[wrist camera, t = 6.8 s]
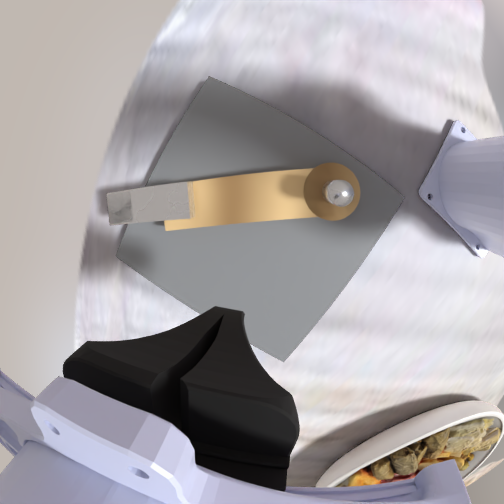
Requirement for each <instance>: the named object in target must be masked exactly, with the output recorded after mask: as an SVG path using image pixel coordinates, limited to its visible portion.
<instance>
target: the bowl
mask: <svg viewBox="0 0 504 504" xmlns="http://www.w3.org/2000/svg"><path fill="white" fill-rule="evenodd" d="M503 434H504V415H503V413H502V412H501V410H500V409H499V408H498V407H496V406H495V405H493V404H491V403H488V402H484V401H463V402H457V403H453V404H449V405H445V406H442V407H439V408H436V409H433V410H430V411H428V412H425V413H422V414H420V415H417V416H415V417H413V418H410V419H408V420H406V421H404V422H401V423H399V424H397V425H395V426H393V427H391V428H389V429H387V430H385V431H383V432H381V433H379V434H378V435H376V436H374V437H372V438H370V439H369V440H367V441H365V442H364V443H362V444H360V445H359V446H357V447H356V448H354V449H352V450H351V451H350V452H348V453H347V454H345V455H344V456H343V457H341V458H340V459H339V460H337V461H336V462H335V463H334V464H333V465H332V466H331V467H330V468H328V470H327V471H326V472H325V473H324V474H323V475H322V476H321V478H320V479H319V481H318V482H317V484H316V486H315V487H319V488H323V487H352V486H365V485H374V484H383V483H390V482H396V481H402V480H407V479H413V478H415V477H416V475H417V474H418V473H419V472H420V471H421V470H423V469H424V468H425V467H427V466H429V465H432V464H436V463H440V462H444V461H447V460H451V459H455V461H456V464H457V466H458V469H459V471H460V474H461V476H462V479H463V480H464V479H465V478H466V477H468V476H469V475H470V474H471V473H472V472H474V471H475V470H476V469H477V468H478V467H479V466H480V465H481V464H482V463H483V462H484V461H485V460H486V459H487V458H488V456H489V455H490V454H491V453H492V452H493V450H494V449H495V448H496V446H497V445H498V443H499V442H500V440H501V438H502V436H503Z"/></svg>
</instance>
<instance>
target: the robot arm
mask: <svg viewBox="0 0 504 504" xmlns="http://www.w3.org/2000/svg"><path fill="white" fill-rule="evenodd" d="M461 128H462V129H463V132H462V131H461ZM428 194H430V196H431V197H430V199H428ZM419 196H420V197H421V198H422V199H423V200H424V201H425V202H426V203H427V204H428V205H429V206H430V207H431V208H433V209H434V210H435V211H436V212H437V213H438V214H439V215H440V216H441V217H442V218H443V219H444V220H445V221H446V222H447V223H448V224H449V225H450V226H451V227H452V228H453V229H454V230H455V231H456V232H457V233H458V234H459V236H460V237H461V238H462V239H463V240H464V241H465V242H466V243H467V244H468V245H469V246H470V248H471V249H472V250H473V251H474V252H475V253H476V254H477V256H478V257H480V258H484V257H485V256H486V254H487V252H488V250H489V251H491V252H493V253H495V254H498V255H500V256H502V257H504V136H499V137H492V138H485V139H478V140H477V139H476V138H475V137H474V135H473V134H472V133H471V132H470V131H469V130H468V129H467V128H466V127H465V126H464V125H463V124H462V123H461V122H460V121H459V120H457V121H454V122H453V124H452V126H451V128H450V131H449V133H448V135H447V137H446V139H445V141H444V143H443V145H442V147H441V149H440V151H439V153H438V155H437V157H436V159H435V161H434V163H433V165H432V167H431V169H430V171H429V173H428V174H427V176H426V178H425V180H424V182H423V184H422V185H421V187H420V189H419ZM476 245H478V246H477V248H476ZM244 317H245V314H244V312H243V311H239V310H234V309H229V308H223V307H218V306H214V307H213V308H211V309H209V310H208V311H206V312H204V313H203V314H201V315H199V316H197V317H196V318H194V319H192V320H190V321H188V322H186V323H184V324H182V325H180V326H178V327H175V328H173V329H170V330H168V331H165V332H162V333H159V334H155V335H151V336H147V337H142V338H138V339H132V340H123V341H87V342H86V343H84V344H83V345H82V346H81V347H80V348H79V349H78V350H76V351H75V352H74V353H73V354H72V355H71V356H70V357H69V358H68V359H66V361H65V362H64V364H63V375H64V378H63V377H59V376H58V377H57V378H56V379H55V380H54V381H53V382H52V383H50V384H49V385H48V386H47V387H46V388H45V389H44V390H43V391H42V392H41V393H40V394H39V395H38V396H37V397H36V398H35V397H34V396H32V395H31V394H30V393H28V392H27V391H25V390H24V389H23V388H21V387H20V386H19V385H18V384H16V383H15V382H14V381H13V380H11V379H10V378H9V377H7V376H6V375H5V374H4V373H3V372H2V371H1V370H0V443H1V444H2V445H3V446H4V447H5V448H6V449H7V450H8V451H9V452H10V453H11V454H12V455H13V456H14V458H13V459H12V461H11V462H10V463H9V464H8V466H6V468H5V469H4V470H3V472H2V473H1V474H0V504H471V501H470V498H469V495H468V493H467V490H466V487H465V484H464V482H463V479H462V476H461V474H460V471H459V469H458V466H457V464H456V461H455V459H451V460H447V461H444V462H440V463H436V464H432V465H429V466H427V467H425V468H424V469H423V470H421V471H420V472H419V473H418V474H417V475H416V477H415V478H413V479H407V480H402V481H396V482H390V483H383V484H374V485H365V486H352V487H323V488H319V487H290V486H286V479H287V469H288V467H289V462H290V454H291V452H292V450H293V448H294V446H295V444H296V441H297V439H298V436H299V431H300V428H299V419H298V414H297V410H296V406H295V403H294V400H293V397H292V395H291V394H290V393H289V392H288V391H286V390H285V389H284V388H282V387H281V386H280V385H279V384H277V383H276V382H275V381H274V380H273V379H272V378H271V377H270V376H269V375H268V373H267V372H266V371H265V370H264V368H263V367H262V366H261V364H260V363H259V361H258V359H257V358H256V356H255V354H254V352H253V350H252V348H251V346H250V343H249V340H248V337H247V334H246V330H245V325H244Z"/></svg>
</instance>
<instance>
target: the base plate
mask: <svg viewBox="0 0 504 504" xmlns="http://www.w3.org/2000/svg"><path fill="white" fill-rule="evenodd" d="M324 163H338V164H341V165H344V166H345V167H347V168H348V169H350V170H351V171H352V172H353V173H354V175H355V176H356V178H357V180H358V182H359V186H360V199H359V203H358V205H357V207H356V208H355V210H354V211H353V212H352V213H351V214H350V215H349V216H347V217H346V218H343V219H341V220H336V221H330V220H325V219H322V218H320V217H311V218H297V219H284V220H272V221H261V222H249V223H238V224H228V225H218V226H208V227H198V228H189V229H180V230H171V231H166V230H165V223H164V221H153V222H142V223H131V224H128V226H127V228H126V231H125V233H124V236H123V238H122V241H121V243H120V246H119V248H118V251H117V254H116V257H117V258H119V259H120V260H121V261H123V262H124V263H125V264H127V265H128V266H130V267H131V268H132V269H134V270H135V271H136V272H138V273H139V274H141V275H142V276H144V277H145V278H146V279H148V280H149V281H151V282H152V283H154V284H155V285H157V286H158V287H159V288H161V289H162V290H164V291H165V292H167V293H168V294H170V295H171V296H173V297H174V298H176V299H177V300H179V301H180V302H182V303H184V304H185V305H187V306H188V307H190V308H191V309H193V310H194V311H196V312H198V313H199V314H203V313H204V312H206V311H208V310H209V309H211V308H213V307H214V306H218V307H223V308H229V309H234V310H239V311H243V312H244V314H245V317H244V325H245V330H246V334H247V337H248V340H249V343H250V344H251V345H253V346H255V347H257V348H259V349H260V350H262V351H264V352H266V353H268V354H269V355H271V356H273V357H275V358H277V359H279V360H281V361H283V362H284V361H285V360H286V359H287V358H288V357H289V356H290V354H291V353H292V352H293V351H294V350H295V349H296V348H297V346H298V345H299V344H300V343H301V342H302V341H303V339H304V338H305V337H306V336H307V335H308V333H309V332H310V331H311V330H312V329H313V327H314V326H315V325H316V324H317V322H318V321H319V320H320V319H321V318H322V316H323V315H324V314H325V312H326V311H327V310H328V309H329V307H330V306H331V305H332V304H333V302H334V301H335V300H336V298H337V297H338V296H339V294H340V293H341V292H342V290H343V289H344V288H345V286H346V285H347V284H348V282H349V281H350V280H351V278H352V277H353V276H354V274H355V273H356V271H357V270H358V269H359V267H360V266H361V264H362V263H363V262H364V260H365V259H366V257H367V256H368V254H369V253H370V251H371V250H372V249H373V247H374V246H375V244H376V243H377V241H378V240H379V238H380V237H381V235H382V234H383V232H384V230H385V229H386V227H387V226H388V224H389V223H390V221H391V219H392V218H393V216H394V215H395V213H396V211H397V210H398V208H399V207H400V205H401V203H402V202H403V200H404V198H405V197H404V196H403V195H402V194H401V193H399V192H398V191H397V190H396V189H395V188H393V187H392V186H391V185H390V184H388V183H387V182H386V181H385V180H383V179H382V178H381V177H379V176H378V175H377V174H376V173H374V172H373V171H372V170H370V169H369V168H368V167H366V166H365V165H364V164H362V163H361V162H359V161H358V160H357V159H355V158H354V157H353V156H351V155H350V154H348V153H347V152H345V151H344V150H342V149H341V148H340V147H338V146H337V145H335V144H334V143H332V142H331V141H329V140H328V139H326V138H324V137H323V136H321V135H320V134H318V133H317V132H315V131H313V130H312V129H310V128H309V127H307V126H305V125H304V124H302V123H300V122H299V121H297V120H295V119H293V118H292V117H290V116H288V115H286V114H285V113H283V112H281V111H279V110H278V109H276V108H274V107H272V106H270V105H268V104H266V103H265V102H263V101H261V100H259V99H257V98H255V97H253V96H251V95H249V94H247V93H245V92H243V91H241V90H239V89H236V88H234V87H232V86H230V85H228V84H226V83H223V82H221V81H219V80H217V79H214V78H212V77H210V76H209V77H208V79H207V80H206V82H205V83H204V85H203V86H202V88H201V89H200V91H199V92H198V94H197V95H196V97H195V98H194V100H193V101H192V103H191V105H190V106H189V108H188V109H187V111H186V113H185V114H184V116H183V118H182V119H181V121H180V123H179V124H178V126H177V128H176V129H175V131H174V133H173V135H172V136H171V138H170V140H169V142H168V144H167V145H166V147H165V149H164V151H163V153H162V155H161V156H160V158H159V160H158V162H157V164H156V166H155V168H154V170H153V172H152V174H151V176H150V178H149V180H148V182H147V184H146V186H145V187H149V186H156V185H164V184H171V183H179V182H193V181H199V180H206V179H213V178H220V177H228V176H236V175H244V174H253V173H263V172H273V171H284V170H296V169H310V168H315V167H317V166H319V165H321V164H324Z"/></svg>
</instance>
